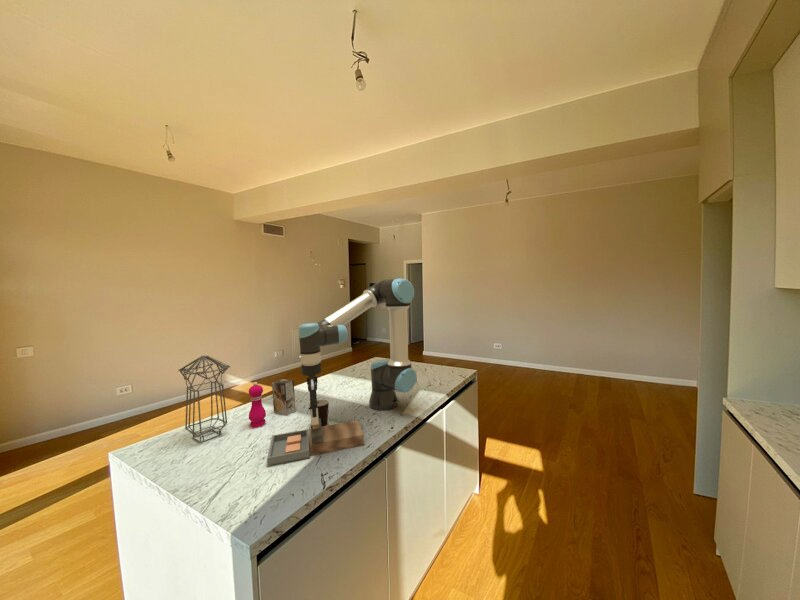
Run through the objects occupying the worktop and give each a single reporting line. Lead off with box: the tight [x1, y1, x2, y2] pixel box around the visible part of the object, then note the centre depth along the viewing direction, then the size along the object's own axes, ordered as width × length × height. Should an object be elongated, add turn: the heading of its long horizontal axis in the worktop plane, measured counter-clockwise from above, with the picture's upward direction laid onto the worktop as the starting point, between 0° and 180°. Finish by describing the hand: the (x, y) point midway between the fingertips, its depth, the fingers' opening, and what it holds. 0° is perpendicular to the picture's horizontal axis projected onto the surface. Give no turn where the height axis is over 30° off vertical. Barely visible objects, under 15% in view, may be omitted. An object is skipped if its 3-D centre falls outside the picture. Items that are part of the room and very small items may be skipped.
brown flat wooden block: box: [308, 420, 365, 456], centre depth 122 cm, size 20×14×4 cm
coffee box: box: [271, 378, 297, 416], centre depth 154 cm, size 9×6×16 cm
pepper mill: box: [248, 381, 267, 429], centre depth 140 cm, size 7×7×20 cm
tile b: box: [286, 443, 300, 454], centre depth 113 cm, size 5×5×2 cm
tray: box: [266, 428, 311, 467], centre depth 117 cm, size 14×18×3 cm
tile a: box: [287, 435, 301, 445], centre depth 120 cm, size 5×5×2 cm
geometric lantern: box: [177, 355, 231, 444], centre depth 131 cm, size 16×16×35 cm
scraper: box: [310, 416, 323, 444], centre depth 119 cm, size 4×16×14 cm, turn 17°
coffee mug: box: [308, 398, 330, 426], centre depth 139 cm, size 12×9×10 cm
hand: (314, 422), depth 119 cm, fingers closed on scraper, 2 cm apart
